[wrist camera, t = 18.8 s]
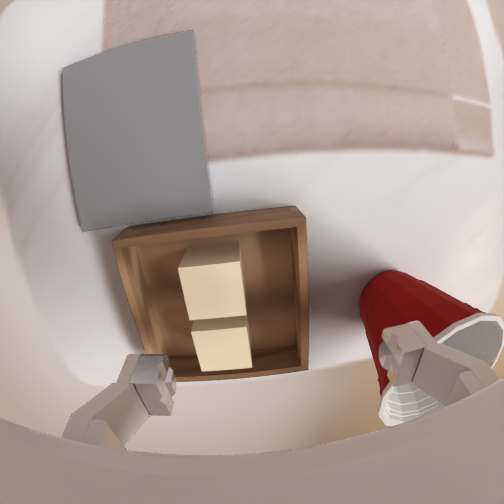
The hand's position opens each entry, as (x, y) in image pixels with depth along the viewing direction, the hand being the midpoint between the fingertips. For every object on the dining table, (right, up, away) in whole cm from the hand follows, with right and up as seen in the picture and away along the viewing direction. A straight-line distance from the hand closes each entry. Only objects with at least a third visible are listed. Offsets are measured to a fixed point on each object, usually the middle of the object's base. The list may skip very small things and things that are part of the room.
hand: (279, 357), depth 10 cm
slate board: (-10, +13, +9) cm, 19 cm away
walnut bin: (-4, 0, +14) cm, 15 cm away
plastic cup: (+12, -1, +16) cm, 19 cm away
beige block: (-3, -2, +14) cm, 15 cm away
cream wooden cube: (-4, +3, +13) cm, 13 cm away
